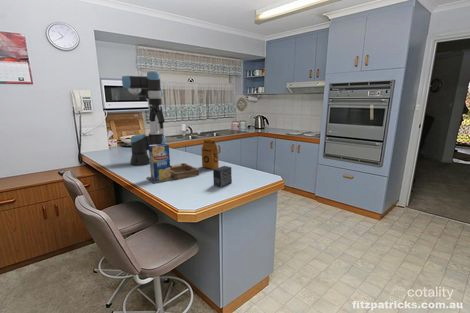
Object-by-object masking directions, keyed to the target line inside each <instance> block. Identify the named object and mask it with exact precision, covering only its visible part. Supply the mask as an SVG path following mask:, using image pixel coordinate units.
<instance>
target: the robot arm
mask: <svg viewBox="0 0 470 313" xmlns="http://www.w3.org/2000/svg"><path fill="white" fill-rule="evenodd" d="M121 84H122V88H123V89H127V91H128V92H129V93H130V94H131V95H133V96H137V97H140V98H141V97H143V98H144V97H145V101H147V105H148V106H147V108H148V118H149V119H148V120H149V132H148V135H147V134H145V133H140V134H135V135H132V136H131V137H130V146H131V147H130V148H131V149H130V150H131V157H130V165H131V166H144V165H150V158H149V154H148V151H149V146H148V145H157V144H166V135H165V132H164V123H165V117H164V113H163V108H162V106H161V105H163V102H162V98H163V96H164V95H163V89H162V84H161V76H160V72H158V71H147V72H146V76H144V75H143V76H141V75H140V76H139V75H135V76H134V75H123V76H121Z"/></svg>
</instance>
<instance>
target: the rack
mask: <svg viewBox="0 0 470 313" xmlns="http://www.w3.org/2000/svg"><path fill="white" fill-rule="evenodd" d="M178 164H179V163H176V164H175V165H178ZM180 164H181V165H182V166H179V167H173V168H171V165H172V164H170V172H171V177H173V178H175V181H176V180H180V179H186V178H192V177H196V176H200V168H199V169H198V168H197V167H194V166H192V165H190V164H187V163H185V162H183V163H180Z"/></svg>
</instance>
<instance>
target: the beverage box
mask: <svg viewBox="0 0 470 313" xmlns="http://www.w3.org/2000/svg"><path fill="white" fill-rule="evenodd" d="M148 146H149V150H148V153H149V154H148V156H149V159H150V163H149V170H150V177H151V179H153V180H154V181H157V180H162V179H167V178H171V172H170V165H171V158H170V157H171V156H170V145H169V144H166V143H165V144H157V145H148Z"/></svg>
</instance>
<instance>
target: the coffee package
mask: <svg viewBox="0 0 470 313" xmlns="http://www.w3.org/2000/svg"><path fill="white" fill-rule="evenodd" d="M219 160H220V158H219V150H218V146H217V142H216V140H215V139H209V138H203V143H202V146H201V167H202V168H203V167H204V168H206V169H210V170H213V169H216V168H219V167H220V166H219Z"/></svg>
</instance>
